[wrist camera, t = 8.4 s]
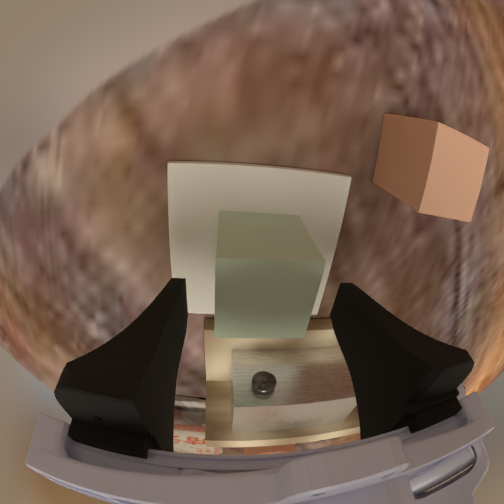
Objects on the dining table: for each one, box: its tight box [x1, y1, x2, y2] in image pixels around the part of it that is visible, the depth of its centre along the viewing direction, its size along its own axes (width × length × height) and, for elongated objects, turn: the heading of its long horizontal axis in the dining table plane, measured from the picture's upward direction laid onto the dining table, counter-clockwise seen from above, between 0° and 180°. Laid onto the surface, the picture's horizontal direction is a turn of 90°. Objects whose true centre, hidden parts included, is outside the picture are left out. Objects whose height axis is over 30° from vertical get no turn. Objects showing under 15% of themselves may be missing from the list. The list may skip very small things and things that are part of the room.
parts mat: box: [168, 161, 352, 315], centre depth 16 cm, size 10×10×1 cm
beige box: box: [204, 318, 360, 447], centre depth 19 cm, size 13×8×7 cm, turn 85°
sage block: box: [214, 211, 326, 338], centre depth 14 cm, size 4×4×5 cm
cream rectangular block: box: [230, 346, 357, 432], centre depth 19 cm, size 9×5×5 cm, turn 85°
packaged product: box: [173, 395, 223, 454], centre depth 25 cm, size 18×5×10 cm
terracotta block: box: [372, 113, 489, 222], centre depth 12 cm, size 4×4×5 cm
